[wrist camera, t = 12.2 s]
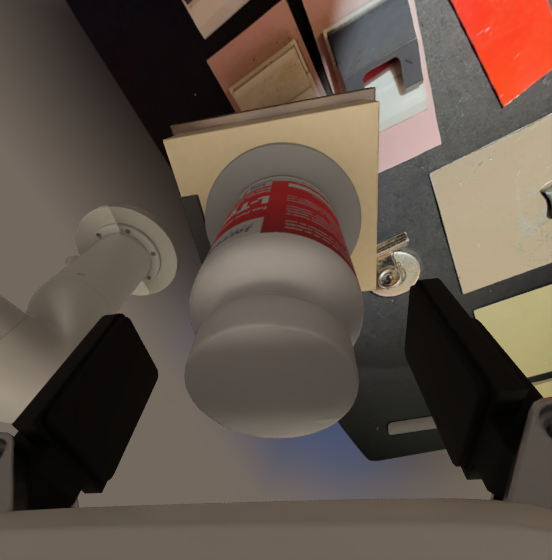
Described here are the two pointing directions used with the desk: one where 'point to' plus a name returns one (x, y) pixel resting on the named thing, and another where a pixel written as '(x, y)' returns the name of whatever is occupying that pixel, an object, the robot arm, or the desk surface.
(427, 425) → the gray half cylinder
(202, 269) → the pill bottle
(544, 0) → the desk surface
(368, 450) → the desk surface
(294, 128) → the scale
